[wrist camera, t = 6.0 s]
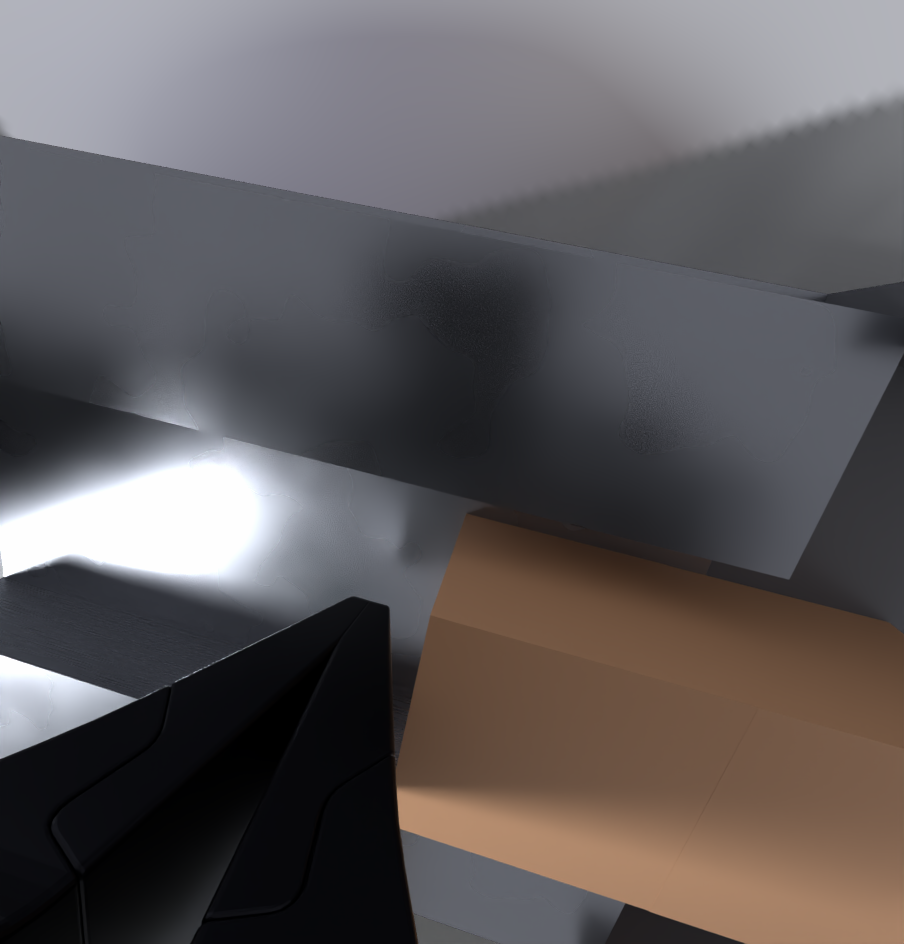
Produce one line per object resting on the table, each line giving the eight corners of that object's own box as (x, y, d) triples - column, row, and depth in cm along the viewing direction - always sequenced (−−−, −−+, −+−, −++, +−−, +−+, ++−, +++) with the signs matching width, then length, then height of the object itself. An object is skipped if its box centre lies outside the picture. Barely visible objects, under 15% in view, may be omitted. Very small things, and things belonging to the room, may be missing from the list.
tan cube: (607, 716, 10) (649, 911, 6) (667, 565, 8) (758, 707, 5) (796, 771, 9) (949, 1011, 6) (888, 622, 8) (1138, 814, 5)
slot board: (61, 667, 14) (-70, 758, 11) (16, 151, 10) (-223, 61, 6) (568, 829, 12) (581, 989, 9) (785, 301, 8) (943, 274, 5)
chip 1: (430, 664, 10) (383, 823, 7) (465, 513, 9) (430, 615, 6) (607, 715, 10) (649, 911, 6) (667, 565, 8) (758, 707, 5)
